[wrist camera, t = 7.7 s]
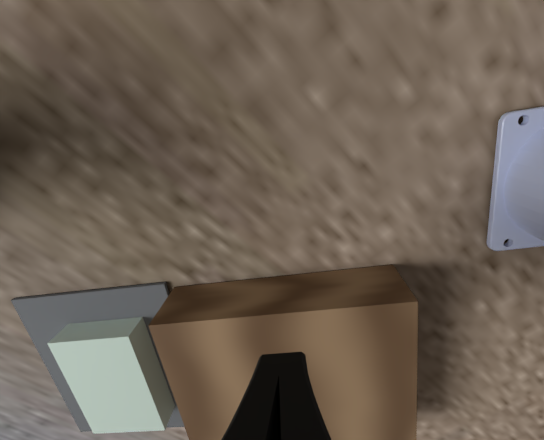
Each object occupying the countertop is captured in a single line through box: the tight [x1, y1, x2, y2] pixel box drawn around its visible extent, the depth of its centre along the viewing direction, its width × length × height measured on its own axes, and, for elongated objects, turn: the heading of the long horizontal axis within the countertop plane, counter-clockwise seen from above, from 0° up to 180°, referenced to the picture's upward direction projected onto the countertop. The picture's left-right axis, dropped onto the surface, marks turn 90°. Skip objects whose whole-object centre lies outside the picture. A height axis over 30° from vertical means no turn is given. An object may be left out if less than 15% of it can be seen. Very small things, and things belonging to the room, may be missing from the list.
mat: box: [11, 282, 185, 432], centre depth 23 cm, size 12×14×1 cm
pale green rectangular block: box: [47, 317, 175, 434], centre depth 22 cm, size 6×9×2 cm, turn 9°
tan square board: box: [148, 265, 418, 440], centre depth 20 cm, size 15×13×4 cm
